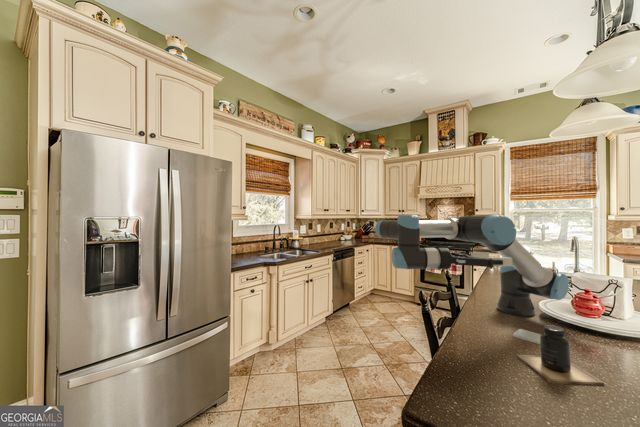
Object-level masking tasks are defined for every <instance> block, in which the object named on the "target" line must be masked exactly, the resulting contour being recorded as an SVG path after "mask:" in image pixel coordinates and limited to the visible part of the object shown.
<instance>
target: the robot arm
mask: <svg viewBox="0 0 640 427" xmlns="http://www.w3.org/2000/svg"><path fill="white" fill-rule="evenodd" d="M515 227H516V225H515V222H514V221H513V220H512V219H511V218H509V217H508V216H506V215H502V214H501V215H499V214H483V215H482V214H481V215H480V214H479V215H463V216H457V217H446V218H444V219H420V217H419V216H418V215H417V214H400V215H398V216H397V220H395V219H391V220H389V219H388V220H387V219H383V220H378V222H376V224H375V226H374V233H375V235H377V237H379V238H381V239H383V240H384V239H385V240H386V239H388V240H394V241H395V240H396V241H397V247H393V248H392V249H391V263H392V267H394V268H395V269H401V270H403V269H404V270H426V271H428V272H429V271H431V269H432V270H437V269H438V270H449V269H450V268H451V267H452V264H453V265H456V266H469V267H485V268H489V269H493V268H494V267H500V271H499V274H500V295H499V297H498V301H497V302H496V309H497V308H498V309H499V310H498V309H497V310H498V311H499V312H502V313H505V314H508V315H513V316H519V317H533V316H535V315H536V309H535V307H534V303H533V301H532V299H531V295H535V296H538V297H541V298H542V297H543V298H547V299H550V300H556V301H561V300H563V299H564V298H565V297H566V296H567V294H568V291H569V286H570V282H569V281H570V280H569V278H568V276H567V275H566V274H564V273H562V272H556V271H554V270H553V269H552V268H551V267H550V266H548V265H546V264H543V263H540V262H539V261H538V259H536V258H535V257H534V256H533V255H532V254H531V253H530V252H529V250H527V248H525V247H524V245H522V244H521V243H520V242H519V241H518V240H517V239H516V237H517V228H515ZM421 238H422V239H423V238H427V239H428V238H445V239H447V240H457V241H463V242H469V243H476V244H477V243H478V244H481V245H482V244H483V245H484V247H486V248H487V249H488V250H489V251H491V252H493V253H494V252H496V253H498V254H499V255H500V256H501V257H494V256H493V257H490V252H488V251H487V252H486V251H483V252H477V251H475V252H473V251H471V252H470V250H469V249H466V250H465V251H454V252H451V250H450V249H449V248H447V247H437V248H436V247H420V246H421V245H420V244H421V242H420V241H421V240H420V239H421Z"/></svg>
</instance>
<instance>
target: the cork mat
mask: <svg viewBox="0 0 640 427" xmlns="http://www.w3.org/2000/svg"><path fill="white" fill-rule="evenodd" d="M516 358H518V359H519V360H520V361H522V362H523V363H524V364H525V365H526V366H528V367H529V368H530V369H531V370H533V372H535V373H537V374H538V376H540V377H542V378H543V379H544V380H545V381H547V382H548V383H549V384H562V385H563V384H566V385H568V384H569V385H570V384H571V385H572V384H573V385H592V386H604V385H605V383H604V381H602V380H601V379H599V378H597V377H596V376H595V375H593V374H591V373H589V372H588V371H586V370H585V369H583V368H581V367H580V366H578V365H577V364H575V363H573V362H571V371H570V372H568V373H560V372H555V371H552V370H550V369H548V368H546V367H544V366H543V365H542V363H541V355H533V354H532V355H528V354H527V355H526V354H524V355H523V354H516Z"/></svg>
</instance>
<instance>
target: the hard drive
mask: <svg viewBox="0 0 640 427" xmlns="http://www.w3.org/2000/svg"><path fill="white" fill-rule="evenodd" d="M541 335H542V334H541V333H536V332H533V331H529V330H527V329H526V330H525V329H523V328H519V329H517V330H515V332H514V333H513V334H512V337H514V338H517V339H521V340H524V341H528V342H531V343H534V344H538V345H540V336H541Z"/></svg>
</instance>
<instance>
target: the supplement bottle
mask: <svg viewBox="0 0 640 427" xmlns="http://www.w3.org/2000/svg"><path fill="white" fill-rule="evenodd" d="M565 332H566V331H565V328H563V327H561V326H558V325H553V324H544V325H543V333H542V334H541V336H540V344H539V346H540V356H541V363H542V365H543V366H544V367H546V368H548V369H550V370H552V371H555V372H560V373H568V372H570V371H571V345H570V344H571V343H570V341H569V339H567V338H566V334H565Z"/></svg>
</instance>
